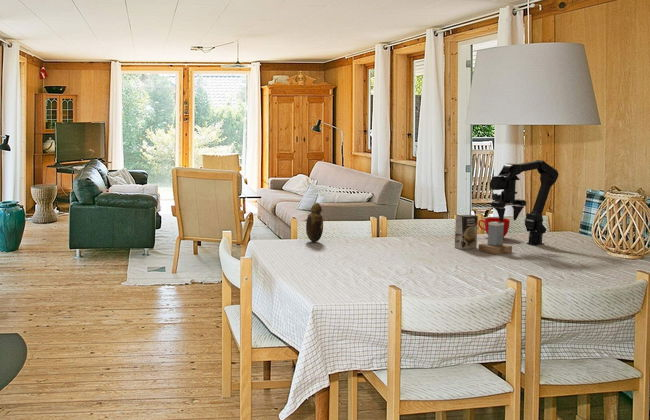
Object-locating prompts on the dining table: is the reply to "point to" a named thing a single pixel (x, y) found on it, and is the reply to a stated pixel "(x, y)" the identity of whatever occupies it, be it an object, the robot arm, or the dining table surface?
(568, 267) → the dining table surface
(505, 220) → the ceramic cup
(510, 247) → the tan wooden flat block
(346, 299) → the dining table surface
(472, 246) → the coffee box
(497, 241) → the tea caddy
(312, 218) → the sculpture
